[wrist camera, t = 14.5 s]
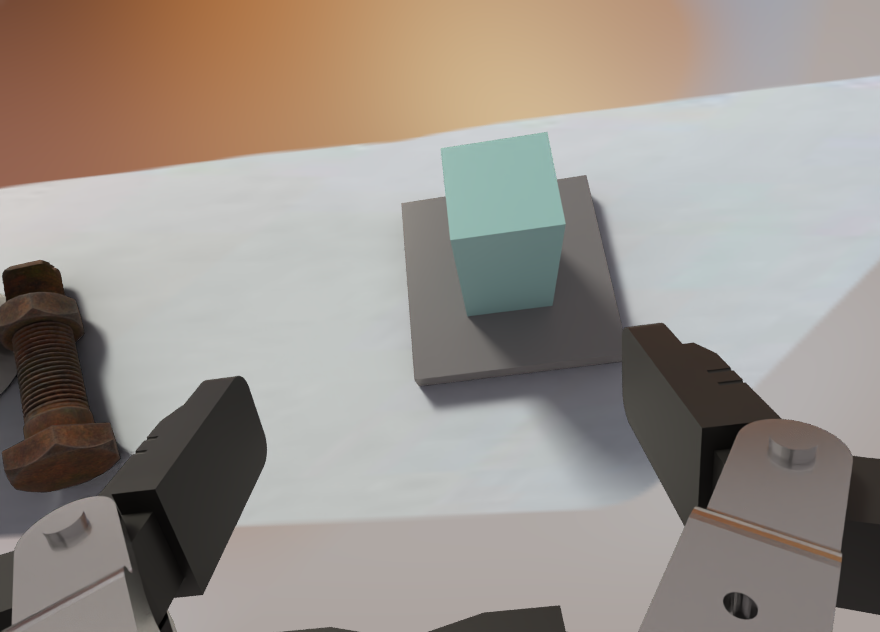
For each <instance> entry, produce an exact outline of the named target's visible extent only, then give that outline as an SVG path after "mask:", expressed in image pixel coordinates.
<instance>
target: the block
mask: <svg viewBox="0 0 880 632" xmlns="http://www.w3.org/2000/svg"><path fill="white" fill-rule="evenodd" d="M441 156H442V166H443V175H444V185H445V194H446V204H447V214H448V223H449V233H450V241H451V246H452V250H453V255H454V259H455V264H456V268H457V273H458V277H459V282H460V286H461V291H462V295H463V300H464V304H465V309H466V313H467V316H475V315H483V314H490V313H498V312H506V311H514V310H522V309H530V308H538V307H546V306H553V299H554V293H555V287H556V281H557V275H558V269H559V262H560V256H561V250H562V244H563V238H564V232H565V225H566V223H565V218H564V213H563V208H562V203H561V198H560V193H559V188H558V183H557V178H556V173H555V168H554V163H553V158H552V153H551V148H550V144H549V139H548V134H547V132H544V133H538V134H531V135H525V136H518V137H512V138H505V139H499V140H492V141H486V142H479V143H473V144H466V145H460V146H453V147H447V148H441Z"/></svg>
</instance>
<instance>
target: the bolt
mask: <svg viewBox="0 0 880 632" xmlns="http://www.w3.org/2000/svg"><path fill="white" fill-rule="evenodd" d="M54 267H55V266H52V265H50V263H49V262H46V261H43V260H38V261H33V262H28V263H24V264H19V265H15V266H11V267H9V268H7V269H6V270H4V272H3V275H2V278H3V284H4V291H5V297H6V302H5V303H4V304H2V305H1V306H0V342H1V343H2V345H3V346H4V348H6V349H7V350H10V351H13V352H14V357H15V364H16V369H17V377H18V384H19V389H20V396H21V404H22V409H23V414H24V416H23V418H24V423H25V425H24V428H23V430H24V437H25V440H24V441H22V442H20V443H18V444H16V445H14V446H12V447H10V448H8V449H6V450H4V451H3V452H2V457H3V464H4V471H5V473H6V475H7V478H8V480H9V481H10V483H11V485H12V486H13V487H14V488H15V489H16V490H22V491H28V492H51V491H56V490H60V489H64V488H68V487H71V486H75V485H78V484H81V483H84V482H87V481H89V480H91V479H93V478H95V477H97V476H99V475H101V474H103V473H104V472H106V471H107V470H109V469H110V468H111V467H112V466H113V465H114V464H115V463H116V462H117V461H118V460H119V459H120V456H119V451H118V447H117V443H116V439H115V436H114V433H113V431H112V428H111V425H110V423H109V422H108V423H94V419H93V415H92V413H91V411H90V410H89V405H88V400H87V396H86V391H85V386H84V381H83V377H82V372H81V368H80V364H79V359H78V352H77V348H76V343H75V342H76V341H77V340H78V339H80V338H81V337H82V336H83V335H84V328H83V324H82V319H81V316H80V312H79V309H78V306H77V303H76V301H75V299H73V298H70V297H67V296H65V292H64V288H63V284H62V278H61V273H60V271H59V270H58V269H56V268H54Z"/></svg>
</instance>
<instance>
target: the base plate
mask: <svg viewBox="0 0 880 632" xmlns="http://www.w3.org/2000/svg"><path fill="white" fill-rule="evenodd" d="M557 183H558V188H559V193H560V198H561V203H562V208H563V213H564V218H565V223H566V225H565V232H564V238H563V244H562V250H561V256H560V262H559V269H558V275H557V281H556V287H555V293H554V299H553V306H546V307H538V308H530V309H522V310H514V311H506V312H498V313H490V314H483V315H475V316H467V313H466V309H465V304H464V300H463V295H462V291H461V286H460V282H459V277H458V273H457V268H456V264H455V259H454V255H453V250H452V246H451V241H450V233H449V223H448V214H447V204H446V197H440V198H433V199H427V200H420V201H414V202H407V203H401V204H402V218H403V231H404V245H405V258H406V272H407V285H408V298H409V312H410V325H411V339H412V352H413V366H414V379H415V381H416V383H417V384H418V386H426V385H434V384H442V383H450V382H459V381H467V380H475V379H483V378H491V377H499V376H507V375H516V374H524V373H532V372H540V371H548V370H556V369H565V368H573V367H581V366H589V365H597V364H605V363H613V362H622V332H623V329H622V324H621V320H620V316H619V312H618V307H617V303H616V299H615V295H614V291H613V286H612V282H611V278H610V274H609V269H608V265H607V261H606V257H605V252H604V248H603V244H602V240H601V235H600V231H599V227H598V223H597V218H596V214H595V210H594V206H593V202H592V197H591V193H590V189H589V185H588V180H587V176H586V175H584V176H578V177H571V178H565V179H558V180H557Z"/></svg>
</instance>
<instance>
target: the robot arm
mask: <svg viewBox="0 0 880 632" xmlns="http://www.w3.org/2000/svg"><path fill="white" fill-rule="evenodd" d="M5 302H6V297H5V296H4V295H2V294H0V306H1V305H2V304H4V303H5ZM16 374H17V369H16V364H15V357H14V352H13V351H10V350H7V349H6V348H4V346H3V345H2V343H1V342H0V394H1V393H2V392H3V391H4V390H5V389H6V388H7V387H8V386H9V384H10V383H11V381H12V380H13V379H14V377H15V376H16ZM622 388H623V402H624V408H625V412H626V416H627V419H628V422H629V424H630V426H631V428H632V430H633V431H634V433H635V435H636V437H637V439H638V441H639V443H640V444H641V446H642V448H643V450H644V452H645V454H646V456H647V457H648V459H649V461H650V463H651V465H652V467H653V469H654V470H655V472H656V474H657V476H658V478H659V480H660V482H661V483H662V485H663V487H664V489H665V491H666V492H667V494H668V496H669V498H670V500H671V502H672V504H673V506H674V508H675V509H676V511H677V513H678V515H679V517H680V519H681V520H682V522H683V524H684V526H685V527H684V530H683V532H682V534H681V536H680V538H679V541H678V543H677V545H676V548H675V550H674V552H673V554H672V556H671V559H670V561H669V563H668V566H667V568H666V570H665V572H664V575H663V577H662V579H661V581H660V584H659V586H658V588H657V590H656V593H655V595H654V597H653V599H652V602H651V604H650V606H649V608H648V611H647V613H646V615H645V617H644V620H643V622H642V624H641V627H640V629H639V631H638V632H832V630H833V623H834V615H835V608H836V607H839V608H845V609H850V610H856V611H861V612H866V613H872V614H878V615H880V459H875V458H865V457H857V456H852V454H851V452H850V450H849V448H848V447H847V446H846V445H845V444H844V443H843V442H842V441H841V440H840V439H839V438H837V437H836V436H834V435H833V434H831V433H829V432H828V431H826V430H823V429H821V428H819V427H816V426H813V425H811V424H807V423H803V422H799V421H794V420H786V419H781V418H780V417H779V416H778V415H777V414H776V413H775V412H774V411H773V410H772V409H771V408H770V407H769V406H768V405H767V404H766V403H765V402H764V401H763V400H762V399H761V398H760V397H759V396H758V395H757V394H756V393H755V392H754V391H753V390H752V389H751V388H750V387H749V386H748V385H747V384H746V383H743V381H742V379H741V378H740V377H739V376H738V375H737V374H736V373H735V372H734V371H731V368H730V367H729V366H728V365H727V364H726V363H725V362H724V361H723V359H722V358H721V357H720V356H719V355H718V354H717V353H714V352H712V351H710V350H708V349H706V348H704V347H702V346H700V345H698V344H695V343H687V344H682V343H681V342H680V341H679V340H678V338H677V337H676V336H675V335H674V334H673V333H672V332H671V331H670V330H669V328H668V327H667V326H666V325H665V324H664V323H655V324H647V325H639V326H632V327H625V328H624V329H623V332H622ZM266 456H267V444H266V438H265V434H264V431H263V428H262V425H261V422H260V419H259V416H258V413H257V410H256V407H255V404H254V401H253V398H252V395H251V392H250V389H249V386H248V384H247V382H246V380H245V379H244V378H243V377H241V376H235V377H227V378H220V379H212V380H205V381H203V382H202V383H201V384H200V386H199V387H198V388H197V389H196V391H195V392H194V393H193V394H192V395H191V397H190V398H189V399H188V400H187V402H186V403H185V404H184V405H183V406H181V407H180V408H178V409H177V410H175V411H174V412H173V413H171V414H170V415H169V416H167V417H166V418H164V419H163V420H162V421H160V423H159V424H158V425H157V426H156V427H155V429H154V430H153V431H152V432H151V433H150V434H149V436H148V437H147V440H146V441H144V442H143V443H142V444H141V445H140V446H139V448H138V449H137V450H136V454H134V455H132V456H131V457H130V458H129V459H128V461H127V462H126V463H125V464H124V465H123V467H122V468H121V469H120V470H119V471H118V472H117V474H116V475H115V476H114V477H113V478H112V480H111V481H110V482H109V483H108V484H107V486H106V487H105V488H104V489H103V490H102V491H101V493H100V494H99V495H98V496H94V497H87V498H83V499H80V500H77V501H74V502H71V503H69V504H66V505H64V506H62V507H60V508H58V509H56V510H54V511H52V512H51V513H49V514H47V515H46V516H44V517H43V518H41V519H40V520H39V521H37V522H36V523H35V524H34V525H32V526H31V527H30V528H29V529H28V530H27V531H26V532H25V533H24V534H23V536H22V537H21V538H20V540H19V541H18V542H17V545H16V547H15V550H14V551H12V552H9V553H6V554H2V555H0V632H177V631H176V628H175V624H174V622H173V619H172V617H171V616H170V613H169V611H168V608H169V606H170V604H171V602H172V600H173V598H177V597H187V596H196V595H203V594H204V591H205V589H206V587H207V585H208V583H209V581H210V579H211V577H212V575H213V572H214V570H215V568H216V566H217V564H218V562H219V560H220V558H221V556H222V553H223V551H224V549H225V547H226V545H227V543H228V541H229V539H230V537H231V535H232V532H233V530H234V528H235V526H236V524H237V522H238V520H239V518H240V516H241V513H242V511H243V509H244V507H245V505H246V503H247V501H248V499H249V497H250V495H251V492H252V490H253V488H254V486H255V484H256V482H257V480H258V478H259V476H260V473H261V471H262V469H263V467H264V465H265V461H266ZM285 632H357V631H351V630H345V629H339V628H333V627H327V628H317V629H306V630H296V631H285ZM429 632H566V631H565V626H564V622H563V618H562V613H561V608H560V606H549V607H539V608H528V609H518V610H507V611H497V612H486V613H481V614H479V615H476V616H473V617H470V618H467V619H464V620H461V621H458V622H455V623H453V624H449V625H446V626H444V627H441V628H438V629H435V630H432V631H429Z"/></svg>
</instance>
